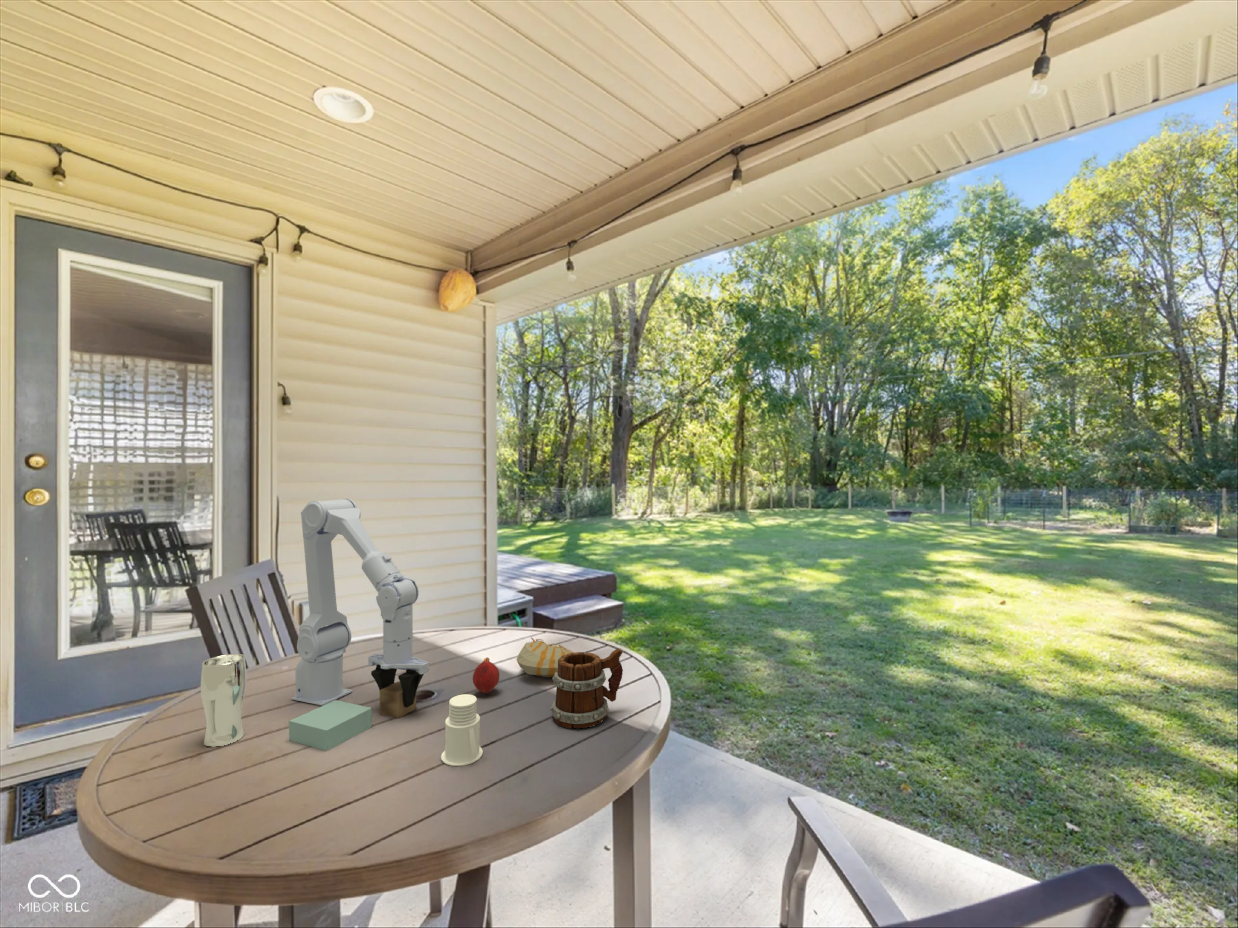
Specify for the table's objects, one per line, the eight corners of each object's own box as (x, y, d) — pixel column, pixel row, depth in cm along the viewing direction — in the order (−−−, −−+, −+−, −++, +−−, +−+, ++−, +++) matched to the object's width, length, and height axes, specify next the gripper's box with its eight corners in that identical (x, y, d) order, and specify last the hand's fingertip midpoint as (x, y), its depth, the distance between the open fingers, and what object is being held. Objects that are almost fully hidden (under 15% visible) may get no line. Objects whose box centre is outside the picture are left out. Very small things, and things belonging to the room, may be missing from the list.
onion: (492, 699, 119) (492, 663, 119) (468, 697, 120) (468, 661, 120) (503, 689, 125) (503, 654, 125) (480, 687, 126) (479, 652, 126)
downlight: (432, 754, 96) (433, 698, 96) (468, 740, 101) (469, 686, 101) (454, 773, 90) (455, 714, 90) (491, 758, 95) (492, 701, 95)
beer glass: (255, 733, 104) (255, 655, 105) (218, 751, 98) (218, 667, 98) (229, 728, 107) (229, 651, 107) (191, 745, 100) (191, 663, 100)
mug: (541, 708, 114) (553, 636, 115) (605, 710, 118) (616, 641, 119) (552, 733, 103) (564, 653, 104) (622, 735, 107) (634, 658, 108)
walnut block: (379, 714, 112) (379, 690, 112) (397, 704, 117) (397, 681, 117) (398, 718, 110) (398, 693, 111) (416, 708, 115) (416, 684, 115)
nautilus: (510, 662, 144) (565, 659, 148) (519, 687, 124) (584, 683, 128) (511, 631, 145) (566, 629, 149) (521, 652, 124) (585, 648, 129)
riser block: (289, 742, 102) (289, 720, 102) (335, 719, 111) (335, 699, 111) (326, 752, 98) (326, 730, 98) (371, 728, 107) (371, 707, 107)
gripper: (356, 640, 113) (356, 705, 113) (411, 647, 108) (411, 716, 107) (382, 630, 119) (382, 692, 119) (435, 637, 114) (436, 702, 114)
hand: (398, 703), depth 114 cm, fingers closed on walnut block, 5 cm apart
